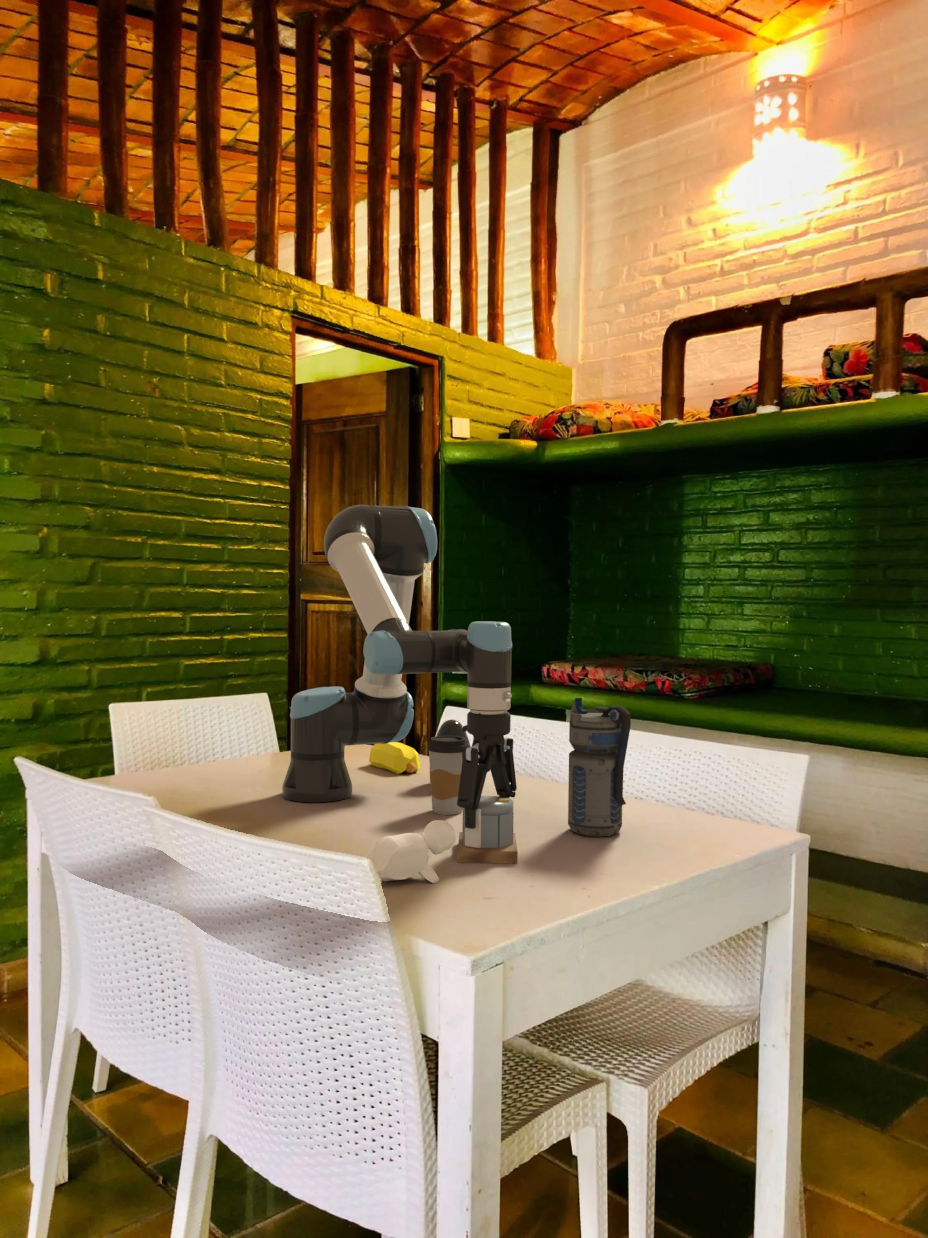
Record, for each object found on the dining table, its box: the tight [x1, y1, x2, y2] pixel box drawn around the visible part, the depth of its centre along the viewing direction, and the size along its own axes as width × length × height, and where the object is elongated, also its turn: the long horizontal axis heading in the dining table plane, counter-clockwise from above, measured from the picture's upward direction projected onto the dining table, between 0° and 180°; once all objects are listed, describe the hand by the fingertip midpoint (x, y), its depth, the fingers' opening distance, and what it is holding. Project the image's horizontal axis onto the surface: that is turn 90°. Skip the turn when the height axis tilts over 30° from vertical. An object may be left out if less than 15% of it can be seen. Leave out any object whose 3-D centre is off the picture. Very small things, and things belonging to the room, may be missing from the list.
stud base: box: [457, 831, 518, 864], centre depth 168 cm, size 10×12×7 cm
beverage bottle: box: [567, 697, 632, 837], centre depth 182 cm, size 10×13×25 cm
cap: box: [462, 795, 514, 848], centre depth 167 cm, size 9×9×7 cm
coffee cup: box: [427, 735, 468, 816], centre depth 198 cm, size 8×8×15 cm
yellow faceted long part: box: [368, 741, 421, 775], centre depth 242 cm, size 18×7×8 cm
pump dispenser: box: [435, 719, 472, 748], centre depth 223 cm, size 10×10×15 cm
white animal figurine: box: [367, 819, 457, 884], centre depth 153 cm, size 9×8×15 cm
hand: (487, 840), depth 168 cm, fingers closed on cap, 9 cm apart
